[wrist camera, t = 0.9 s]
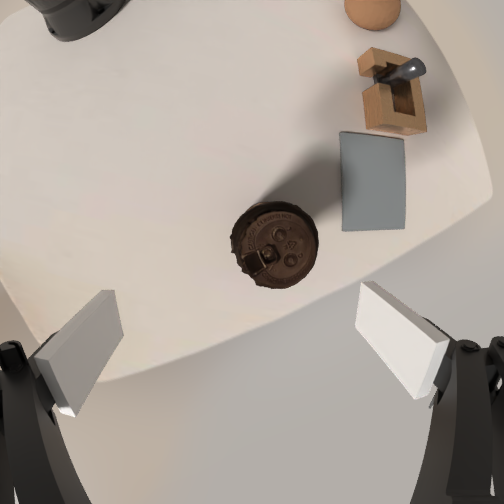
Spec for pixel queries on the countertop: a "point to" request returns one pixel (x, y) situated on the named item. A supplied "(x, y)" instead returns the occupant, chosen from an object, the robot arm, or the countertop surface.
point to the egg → (373, 13)
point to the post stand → (402, 74)
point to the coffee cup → (275, 244)
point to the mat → (372, 182)
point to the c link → (380, 98)
